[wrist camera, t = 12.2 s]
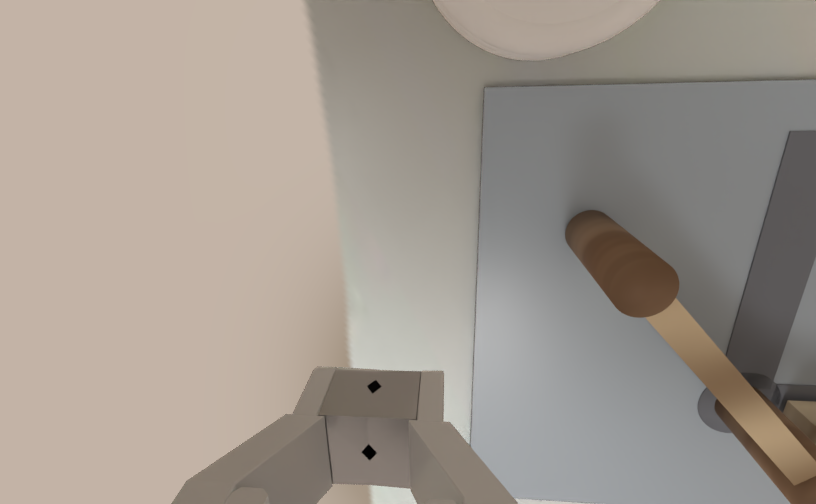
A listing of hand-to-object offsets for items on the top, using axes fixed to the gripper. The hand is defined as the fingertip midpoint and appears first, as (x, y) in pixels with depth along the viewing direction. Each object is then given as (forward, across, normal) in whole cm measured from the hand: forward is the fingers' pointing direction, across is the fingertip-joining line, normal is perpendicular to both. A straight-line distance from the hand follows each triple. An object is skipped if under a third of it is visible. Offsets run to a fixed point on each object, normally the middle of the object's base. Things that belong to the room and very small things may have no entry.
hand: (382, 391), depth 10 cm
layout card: (+12, -17, +5) cm, 22 cm away
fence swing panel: (+12, -12, +4) cm, 17 cm away
